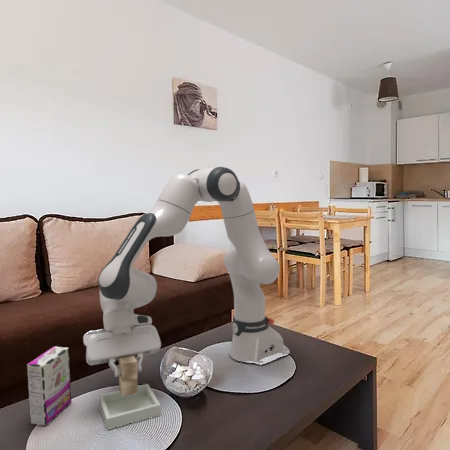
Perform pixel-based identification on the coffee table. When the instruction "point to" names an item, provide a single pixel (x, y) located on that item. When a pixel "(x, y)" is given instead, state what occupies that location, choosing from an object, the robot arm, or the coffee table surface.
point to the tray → (129, 406)
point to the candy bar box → (49, 385)
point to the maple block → (128, 375)
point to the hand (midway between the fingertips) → (128, 373)
